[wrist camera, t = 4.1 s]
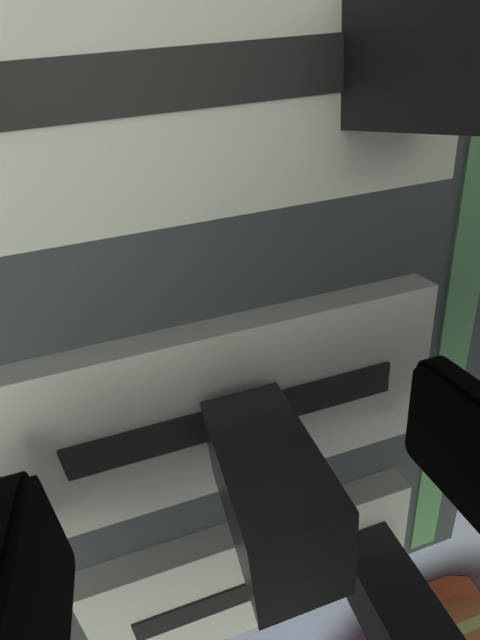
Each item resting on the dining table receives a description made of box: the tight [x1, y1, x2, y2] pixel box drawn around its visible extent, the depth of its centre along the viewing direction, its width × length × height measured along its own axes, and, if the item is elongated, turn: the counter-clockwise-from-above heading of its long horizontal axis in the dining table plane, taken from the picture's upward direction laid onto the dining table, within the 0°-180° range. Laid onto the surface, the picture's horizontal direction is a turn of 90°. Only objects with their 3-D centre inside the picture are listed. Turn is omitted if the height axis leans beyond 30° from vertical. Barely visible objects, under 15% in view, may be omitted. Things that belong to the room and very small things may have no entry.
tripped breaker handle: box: [200, 382, 359, 631], centre depth 9 cm, size 2×2×4 cm
